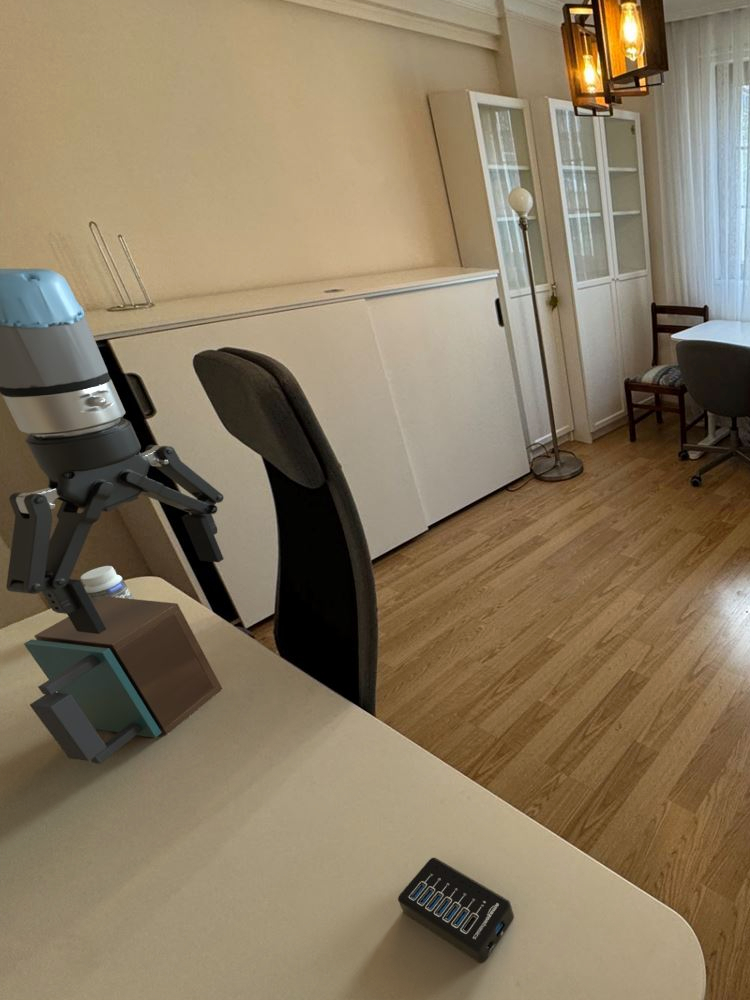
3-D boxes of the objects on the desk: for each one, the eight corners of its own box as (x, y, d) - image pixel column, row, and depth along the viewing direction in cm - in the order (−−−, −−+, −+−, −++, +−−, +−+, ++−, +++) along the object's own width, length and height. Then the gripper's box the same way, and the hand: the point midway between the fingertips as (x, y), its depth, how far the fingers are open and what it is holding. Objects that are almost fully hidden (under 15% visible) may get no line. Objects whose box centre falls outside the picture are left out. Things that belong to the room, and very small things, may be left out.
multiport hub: (437, 868, 60) (432, 855, 59) (515, 915, 56) (512, 902, 55) (401, 911, 56) (395, 898, 55) (482, 965, 52) (478, 952, 51)
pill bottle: (128, 615, 98) (106, 576, 95) (94, 622, 97) (70, 583, 93) (142, 599, 102) (121, 561, 99) (109, 606, 101) (87, 567, 97)
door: (26, 767, 71) (-43, 680, 64) (88, 722, 77) (31, 639, 70) (104, 779, 69) (41, 691, 63) (161, 732, 75) (109, 648, 69)
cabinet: (94, 724, 77) (33, 635, 71) (155, 680, 85) (105, 596, 78) (167, 734, 76) (111, 644, 69) (222, 688, 83) (177, 603, 76)
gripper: (-60, 480, 46) (58, 673, 55) (222, 393, 69) (274, 539, 77) (-135, 473, 47) (-7, 665, 55) (169, 389, 69) (226, 534, 78)
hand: (157, 592), depth 66 cm, fingers open, 13 cm apart
